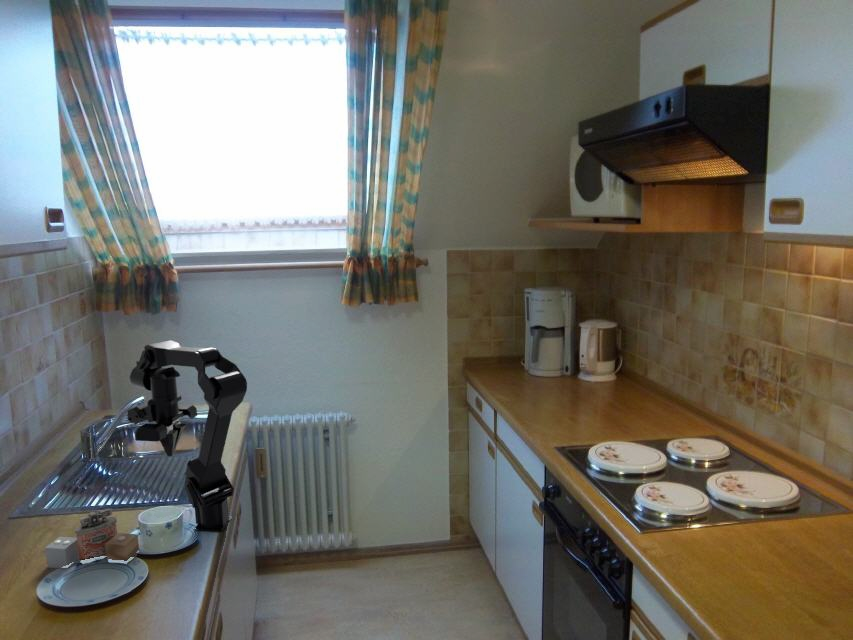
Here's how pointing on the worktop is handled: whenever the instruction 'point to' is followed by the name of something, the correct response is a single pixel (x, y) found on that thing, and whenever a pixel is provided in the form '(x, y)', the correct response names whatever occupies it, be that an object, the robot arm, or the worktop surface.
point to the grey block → (62, 552)
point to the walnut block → (122, 546)
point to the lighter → (95, 534)
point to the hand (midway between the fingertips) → (170, 455)
